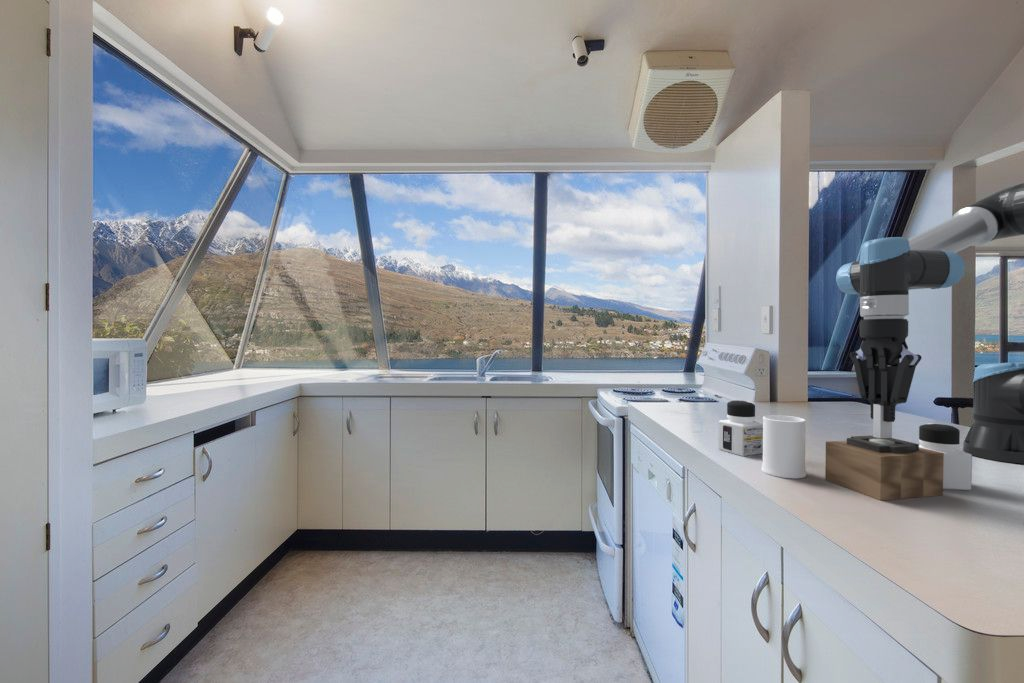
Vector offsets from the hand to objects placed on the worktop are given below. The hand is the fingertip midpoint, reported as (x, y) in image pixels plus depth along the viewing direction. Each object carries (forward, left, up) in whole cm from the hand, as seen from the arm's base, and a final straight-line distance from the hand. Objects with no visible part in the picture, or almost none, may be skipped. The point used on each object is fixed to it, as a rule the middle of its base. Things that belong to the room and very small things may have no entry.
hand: (882, 437), depth 92 cm
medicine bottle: (-13, 0, -10) cm, 17 cm away
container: (+9, -30, -10) cm, 33 cm away
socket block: (0, 0, -10) cm, 10 cm away
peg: (0, 0, -10) cm, 10 cm away
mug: (+11, -13, -10) cm, 20 cm away
